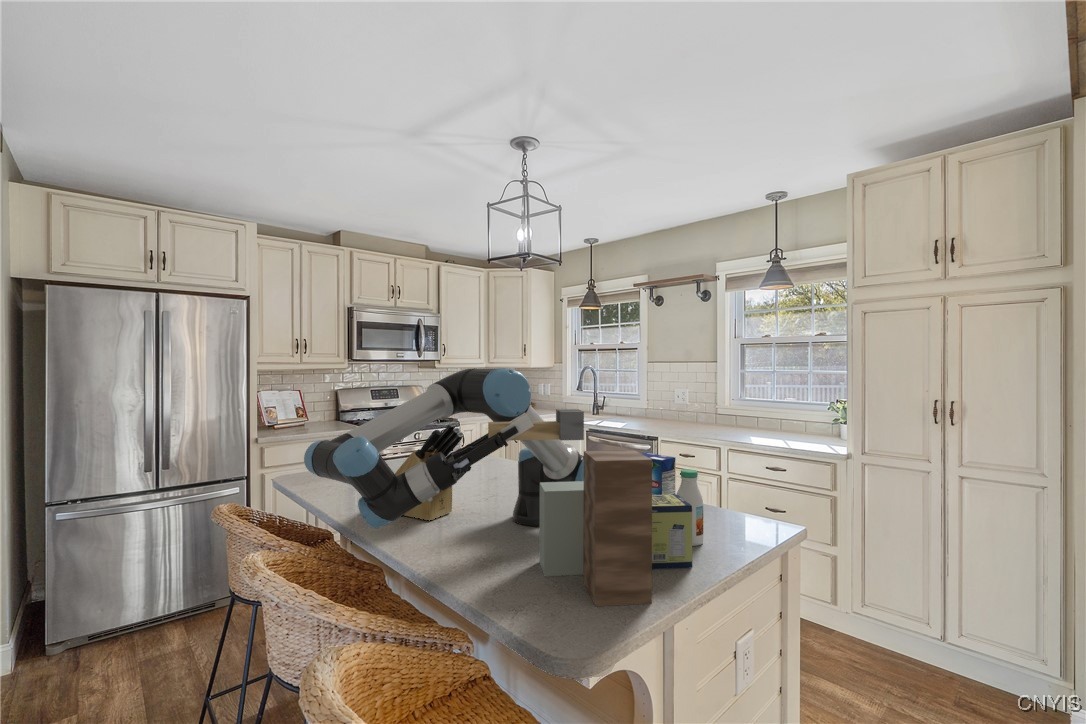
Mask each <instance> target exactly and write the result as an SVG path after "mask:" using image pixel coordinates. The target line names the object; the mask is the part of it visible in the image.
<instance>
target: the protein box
mask: <svg viewBox="0 0 1086 724" xmlns="http://www.w3.org/2000/svg"><path fill="white" fill-rule="evenodd" d="M676 494H677V493H675V494H674V495H652V570H658V569H660V570H661V569H690V568H689V567H692V568H693V546H692V505H690V504H689V503H688V502H686V501H685V500H684V499H682V498H681V497H680V496H679V495H676Z"/></svg>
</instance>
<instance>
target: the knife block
mask: <svg viewBox="0 0 1086 724" xmlns="http://www.w3.org/2000/svg"><path fill="white" fill-rule="evenodd" d="M463 438H464V433H463V432H462V431H461V430H460V428H459V427H456V423H455V421H451V422H449V424H448V425H447V426H446V427H445V428H444V429H443V430H442V432H441V431H440V430H439V429H435V430H434V431H432V433H431V434H430V435H428V437H427V439H426V440H425V441H424V444H423V445H422V446H421V448H420V449H417V450H414V451H412V452H411V453H410V454H409V456H408V457H407V458H406V460H404V461H403V463H402V464H401V465H400V467H399V468H398V469H397V470H396V471H395V472H394V474H395V475H396V476H398V475H400V474H402V473H404V472H405V471H406V470H408V469H410V468H412V467H413V466H415V465H417V464H418V463H420V462H424V463H425V461H426V459H428V458H429V457H431V456H433V455H434V454H436V453H438V452H441V453H443V454H444V455H445V457H446V459H449V458H450V457H452V456H453V452H454V451H453V450H454V449H455V448H456V447H457V446H458V444H459V443H460V442H461V441H462V439H463ZM471 470H472V465H471V466H470V467H468V468H467V469H466V470H465V471H461V469H460V470H458V471H456V472H455V475H456V477H457V482H458V481H459V480H460V479H462V478H463V476H464V475H466V473H468V472H470V471H471ZM439 490H440V489H439ZM432 499H433V500H432V501H431V502H429V501H428V499H427V500H426V501H425V502H423V503H422V504H420V505H418V506H416V507H414V508H413V509H411V510H410V511H408V512H407V513H405V514H404V515H403V516H405V517H409V518H410V517H411V518H414V517H415V519H418V518H420V519H419V520H423V519H424V520H425V521H427V520H429V521H428V522H431V521H430V520H432V521H433V520H435V518H436V519H438V518H441V517H444V516H445V515H448V513H449V514H450V513H452V512H453V510H452V509H453V485H452V486H451V487H449V488H447V489H446V490H444V491H443V490H440V491H439V493H438V494H437V495H435V496H433V497H432ZM440 516H441V517H440Z"/></svg>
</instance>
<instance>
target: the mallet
mask: <svg viewBox="0 0 1086 724" xmlns="http://www.w3.org/2000/svg"><path fill="white" fill-rule="evenodd" d="M487 423H488V425H487V428H488V429H487V431H488V432H487V433H488V438H490V437H492V436H494V435H495V434H497V433H498V432H501V431H500V430H502V429H503V428H505V427H507V426H509V425H510V424H512V423H514V422H493V421H488V422H487ZM532 424H533V425H534V426H533V427H531V428H530V429H528V430H526V431H525V432H523V433H521V434H519V435H518V436H516V437H514V438H513V439H511V440H510V441H520V440H561V441H584V440H585V432H584V431H585V430H584V429H585V412H584V411H583V410H581V409H579V408H564V409H563V408H561V409H560V408H559V409H558V408H557V409H555V420H550V421H549V420H548V421H545V420H544V421H536V422H532ZM501 433H502V432H501Z"/></svg>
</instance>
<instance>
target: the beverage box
mask: <svg viewBox="0 0 1086 724" xmlns="http://www.w3.org/2000/svg"><path fill="white" fill-rule="evenodd" d="M640 453H641V452H640ZM641 454H643V455H644V456H646V457H648V458H650V459H652V495H674V494H676V471H677V470H676V463H677V462H676V460H677V459H676V457H674V456H670V455H669V456H668V455H662V454H658V453H652V452H642V453H641Z"/></svg>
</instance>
